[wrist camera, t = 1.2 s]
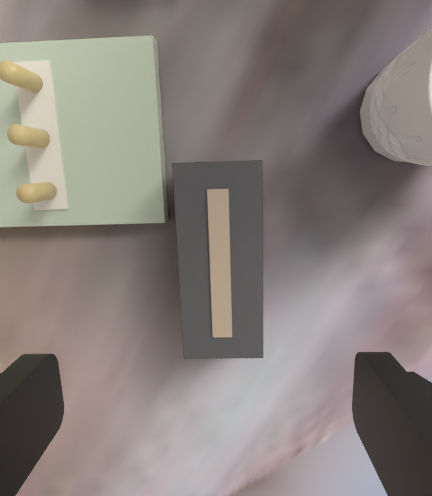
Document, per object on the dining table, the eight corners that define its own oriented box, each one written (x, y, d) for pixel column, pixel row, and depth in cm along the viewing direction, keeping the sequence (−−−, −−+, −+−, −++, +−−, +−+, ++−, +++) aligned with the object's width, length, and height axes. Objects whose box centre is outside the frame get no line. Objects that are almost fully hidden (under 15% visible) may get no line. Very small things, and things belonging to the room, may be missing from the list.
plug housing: (255, 162, 25) (262, 159, 19) (256, 318, 28) (263, 359, 22) (185, 164, 26) (171, 163, 20) (193, 319, 28) (183, 359, 22)
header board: (157, 43, 24) (141, 15, 20) (168, 219, 27) (156, 230, 22) (-70, 55, 25) (-136, 30, 20) (-38, 225, 27) (-89, 236, 23)
